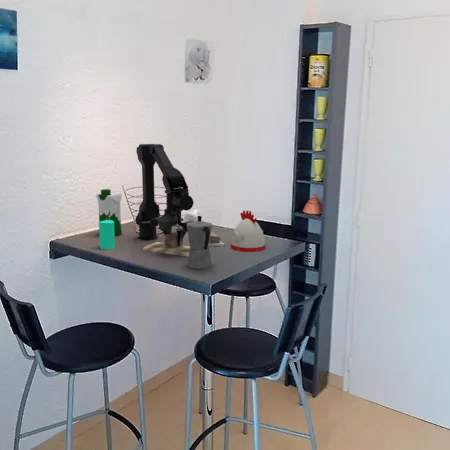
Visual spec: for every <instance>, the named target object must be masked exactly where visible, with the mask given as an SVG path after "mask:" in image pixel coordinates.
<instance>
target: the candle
mask: <svg viewBox="0 0 450 450" xmlns="http://www.w3.org/2000/svg"><path fill="white" fill-rule="evenodd" d="M98 236H99V248H100V249H101V250H112V249H115V248H116V241H115V240H116V239H115V237H116V236H115V233H114V221H112V220H107V218H106V220H104V221H100V222H99V221H98Z"/></svg>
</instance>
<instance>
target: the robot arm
mask: <svg viewBox="0 0 450 450" xmlns="http://www.w3.org/2000/svg"><path fill="white" fill-rule="evenodd" d="M135 151H136V156H137V160H138V162H139V163H140V165H141V178H142V180H141V181H142V201H141V203H140V204H139V206H138V212H137V215H136V217H135V224H136V225H138V226H139V228H138V229H139V230H138V233H139V236H137V238H136V239H140V240H147V241H150V240H153V239H155V238H158V235H157V227H158V230H160V231H161V232H162V233H163V235H164V236H165V235H166V234H169V233H172V232H173V231H172V228H173V227H175V228H178V229H176V231H175V232H177V233H178V246H180V245H181V242H182V240H183V241H184V237H185V236H186V234H187V233H188V231H187V223H190V222H193V221H187V222H184V223H183V222H182V221H183V218H181V211H183V210H185V211H190V210H191V209H192V208H193V207H194V199H193V197H192V196H190V194H189V193H190V192H189V186H188V184H187V182H186V179H185V175H184V174H182V172H181V170H180V169H178V168H176V167H174V165H173V164H172V162H171V160H170V158H169V157H168V155H167V152H165V150H164V146H163V144H161V143H157V144H156V143H140V144H139V145H138V146H137V147H136V150H135ZM156 164H157V166H158V168H159V171H160V172H161V174H162V178H161V181H162V183H163V186H164V188H165V190H164V194H165V195H166V199H165V200H166V203H165V204H166V208H165V209H164V211H163V212H164V213H163V214H162V215H161V213H160V205H159V204H157V202H156V200H155V165H156Z"/></svg>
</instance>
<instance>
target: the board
mask: <svg viewBox="0 0 450 450" xmlns="http://www.w3.org/2000/svg"><path fill="white" fill-rule="evenodd" d="M189 250H190V245H184V244H183V247H180V248H178V249H176V250H168V249H165V242H161V241H160V242H159V241H156V242H153V243H151V244H148V245H145V246H144V247H143V251H147V252H153V253H160V254H167V255H173V256H174V255H175V256H180V257H181V256H182V257H188V256H189Z"/></svg>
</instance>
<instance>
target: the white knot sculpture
mask: <svg viewBox="0 0 450 450" xmlns="http://www.w3.org/2000/svg"><path fill="white" fill-rule="evenodd" d="M197 216H200V210H199V209H193V210H192V211H190V210H187V211H185V210H183V211H181V218H183V221H182V222H183V223H184V222H187V221H198V217H197Z"/></svg>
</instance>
